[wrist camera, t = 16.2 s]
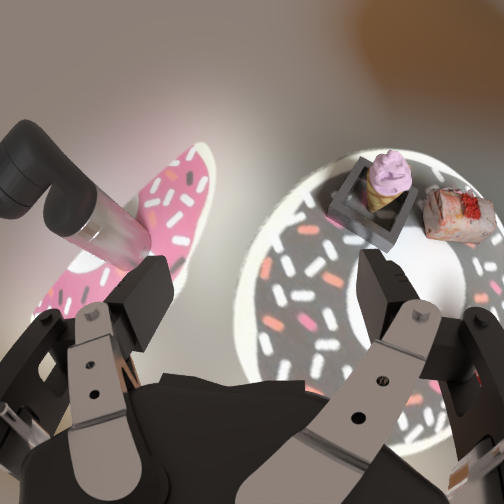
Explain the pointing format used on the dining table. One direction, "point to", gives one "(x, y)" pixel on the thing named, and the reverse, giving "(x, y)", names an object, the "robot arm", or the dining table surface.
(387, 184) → the ice cream cone
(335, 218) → the hollow square frame
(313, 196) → the dining table surface
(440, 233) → the food item
